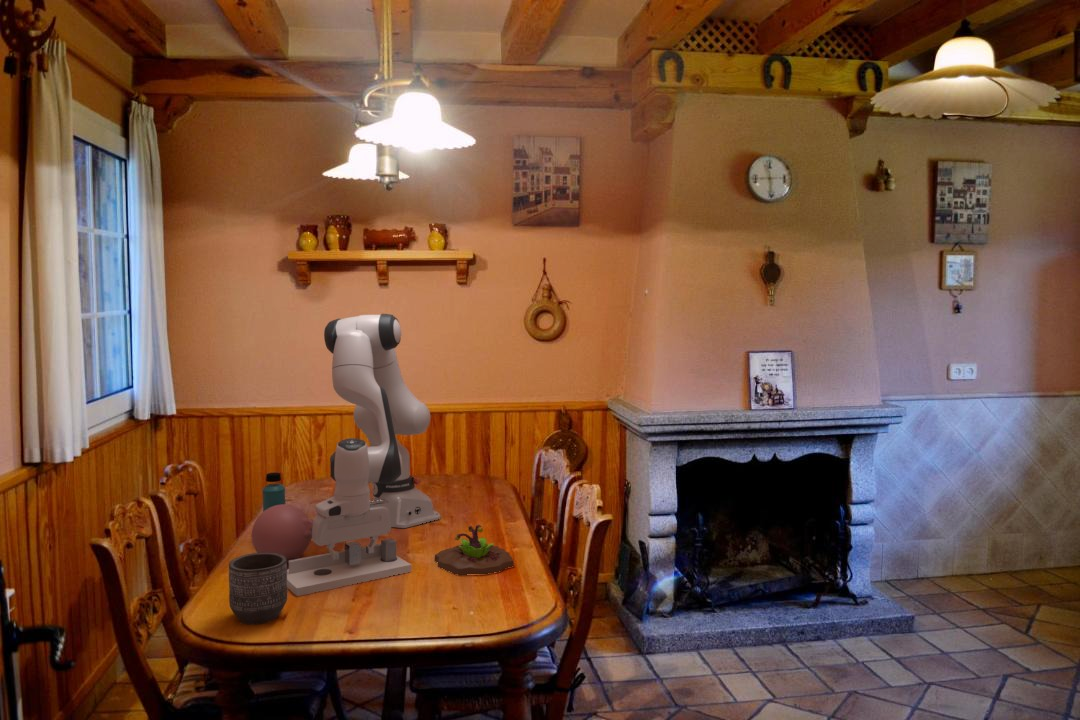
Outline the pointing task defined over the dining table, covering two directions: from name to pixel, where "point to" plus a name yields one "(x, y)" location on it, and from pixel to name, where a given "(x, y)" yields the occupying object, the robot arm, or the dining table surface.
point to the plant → (474, 556)
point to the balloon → (282, 531)
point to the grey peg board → (344, 569)
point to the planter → (258, 587)
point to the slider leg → (352, 553)
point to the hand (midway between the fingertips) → (352, 556)
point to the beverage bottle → (273, 491)
